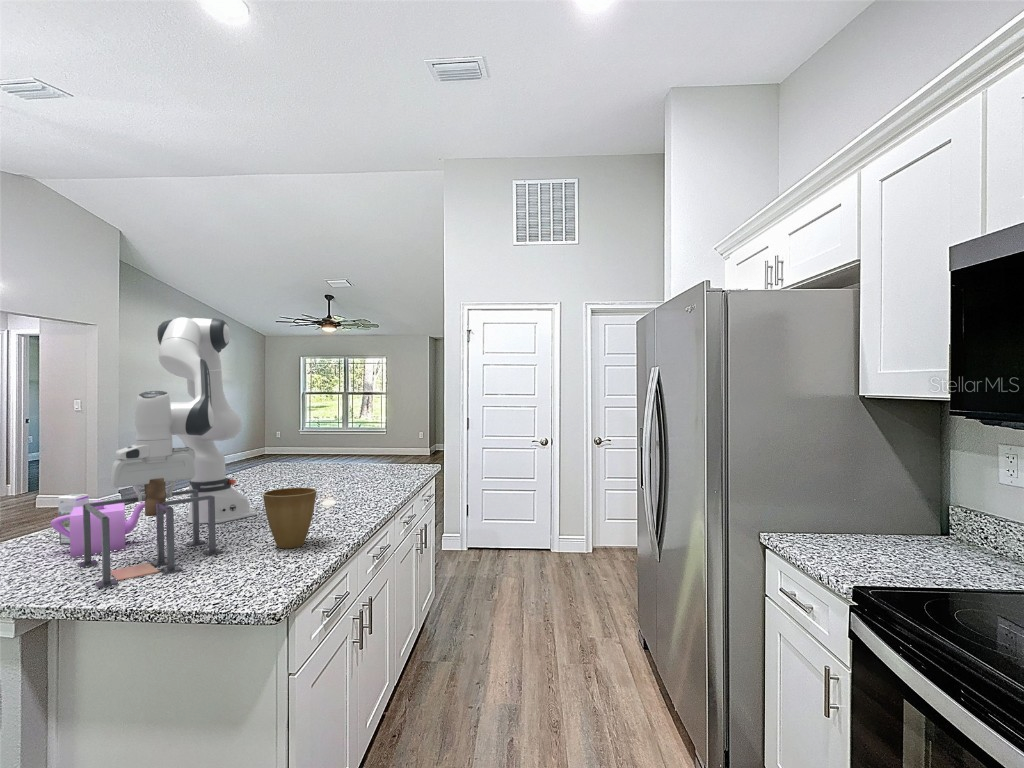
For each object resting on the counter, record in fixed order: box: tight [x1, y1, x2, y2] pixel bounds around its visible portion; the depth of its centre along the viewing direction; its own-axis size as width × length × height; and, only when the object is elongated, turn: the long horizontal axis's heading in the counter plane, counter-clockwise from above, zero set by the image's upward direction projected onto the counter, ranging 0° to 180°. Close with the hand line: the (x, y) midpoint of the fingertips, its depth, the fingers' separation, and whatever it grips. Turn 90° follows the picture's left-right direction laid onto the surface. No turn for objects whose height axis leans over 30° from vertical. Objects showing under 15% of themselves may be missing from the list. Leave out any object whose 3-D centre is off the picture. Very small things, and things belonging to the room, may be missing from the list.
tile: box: [110, 562, 160, 582], centre depth 154 cm, size 9×10×1 cm
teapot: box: [50, 499, 145, 558], centre depth 178 cm, size 15×25×14 cm, turn 123°
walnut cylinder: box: [144, 478, 167, 517], centre depth 166 cm, size 5×5×10 cm
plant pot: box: [262, 487, 317, 549], centre depth 177 cm, size 15×15×16 cm
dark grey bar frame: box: [76, 489, 223, 589], centre depth 162 cm, size 31×27×16 cm
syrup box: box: [57, 493, 90, 545], centre depth 185 cm, size 6×6×14 cm
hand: (155, 499), depth 166 cm, fingers closed on walnut cylinder, 5 cm apart
